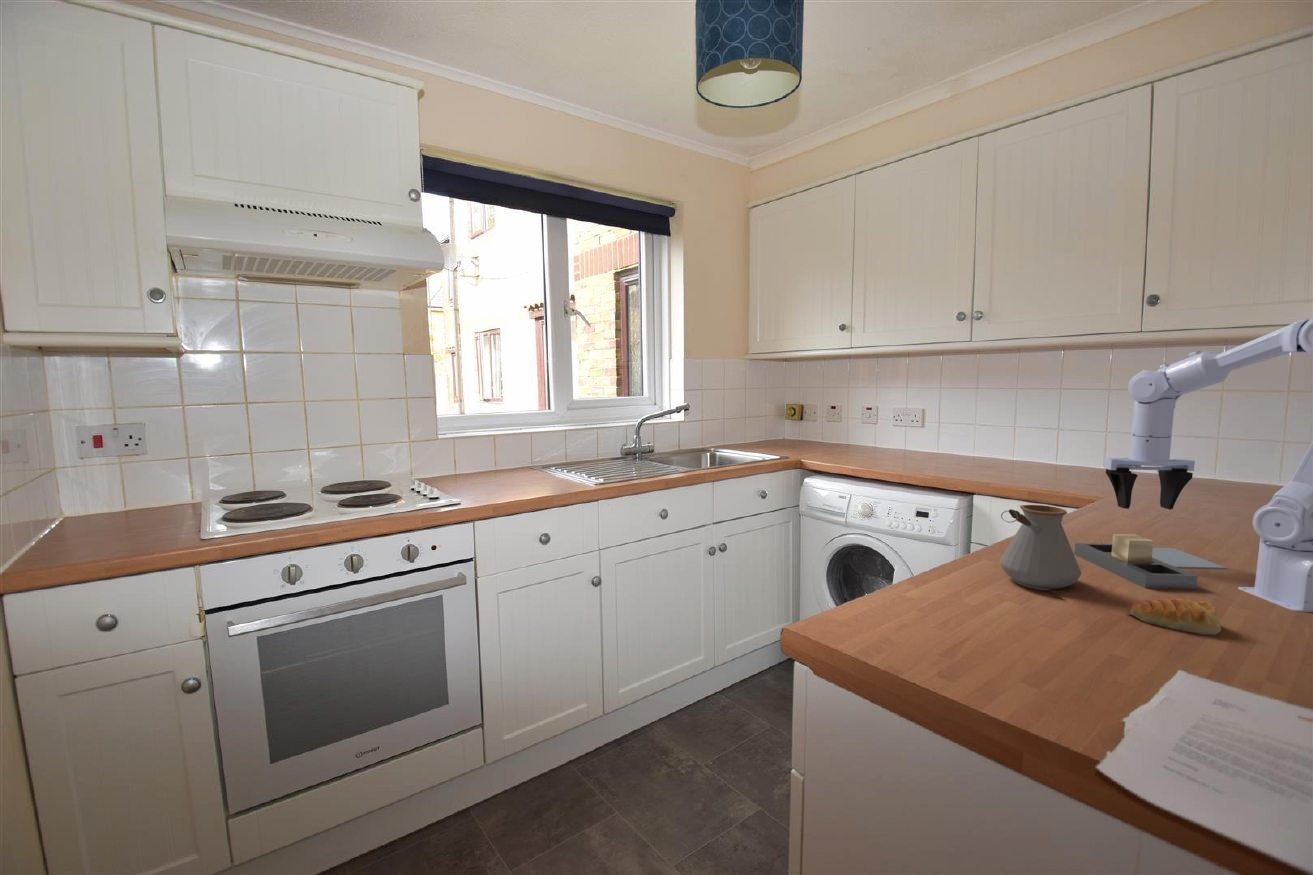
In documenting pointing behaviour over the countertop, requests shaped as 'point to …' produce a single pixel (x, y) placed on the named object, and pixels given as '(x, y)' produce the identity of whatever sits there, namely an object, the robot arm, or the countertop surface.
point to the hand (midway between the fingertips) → (1144, 507)
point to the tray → (1137, 568)
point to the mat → (1182, 559)
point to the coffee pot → (1040, 550)
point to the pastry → (1179, 615)
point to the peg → (1132, 548)
